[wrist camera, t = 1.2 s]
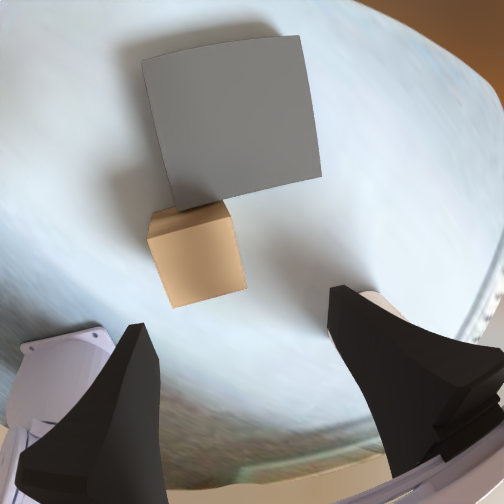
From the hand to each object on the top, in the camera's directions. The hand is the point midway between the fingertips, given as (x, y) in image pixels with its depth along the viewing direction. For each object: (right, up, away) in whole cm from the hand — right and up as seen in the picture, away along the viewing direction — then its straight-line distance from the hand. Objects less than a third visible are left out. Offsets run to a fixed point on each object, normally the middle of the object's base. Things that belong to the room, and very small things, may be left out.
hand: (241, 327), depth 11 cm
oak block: (-3, +4, +9) cm, 10 cm away
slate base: (-1, +11, +6) cm, 13 cm away
